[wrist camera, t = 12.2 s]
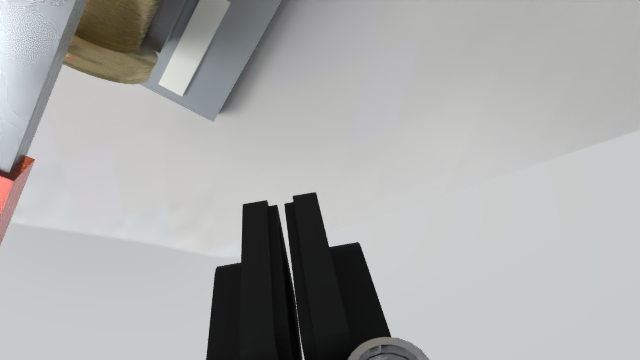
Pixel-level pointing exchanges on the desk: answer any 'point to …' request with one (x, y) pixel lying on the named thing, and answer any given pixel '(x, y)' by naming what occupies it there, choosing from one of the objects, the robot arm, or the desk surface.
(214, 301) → the robot arm
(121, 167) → the desk surface
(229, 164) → the desk surface
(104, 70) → the valve pipe
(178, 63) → the base board
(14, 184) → the lever
